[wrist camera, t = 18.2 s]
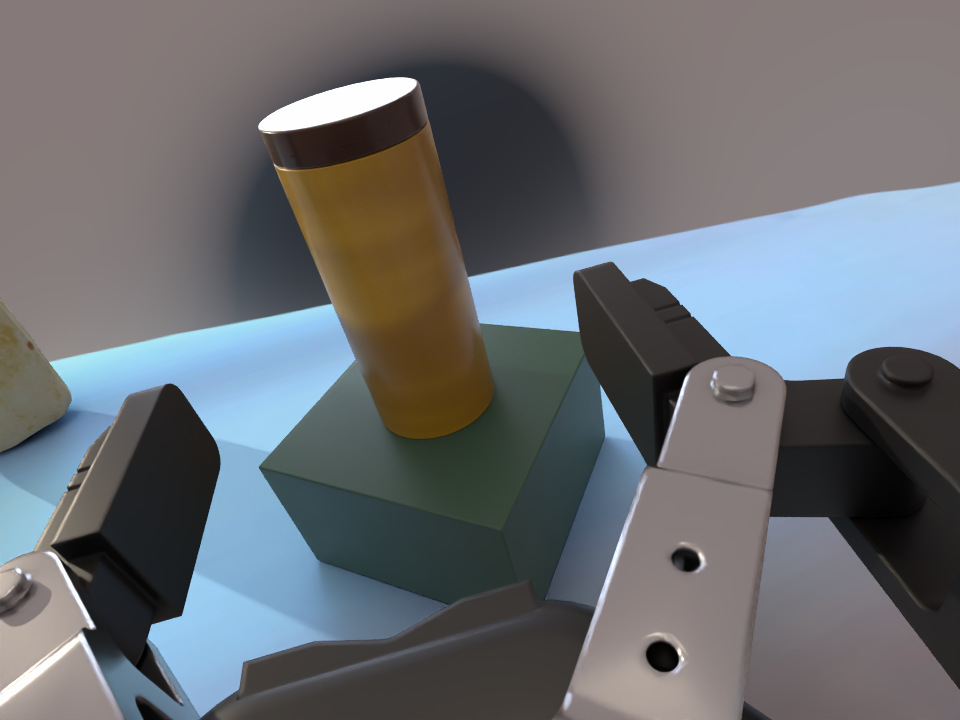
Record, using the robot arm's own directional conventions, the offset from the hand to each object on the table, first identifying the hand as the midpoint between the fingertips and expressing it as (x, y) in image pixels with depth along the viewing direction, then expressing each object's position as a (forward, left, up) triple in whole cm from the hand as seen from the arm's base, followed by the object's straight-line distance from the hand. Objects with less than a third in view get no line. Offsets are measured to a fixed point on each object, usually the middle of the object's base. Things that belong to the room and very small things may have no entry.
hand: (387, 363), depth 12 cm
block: (+7, +5, -14) cm, 16 cm away
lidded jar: (+7, +5, -8) cm, 11 cm away
